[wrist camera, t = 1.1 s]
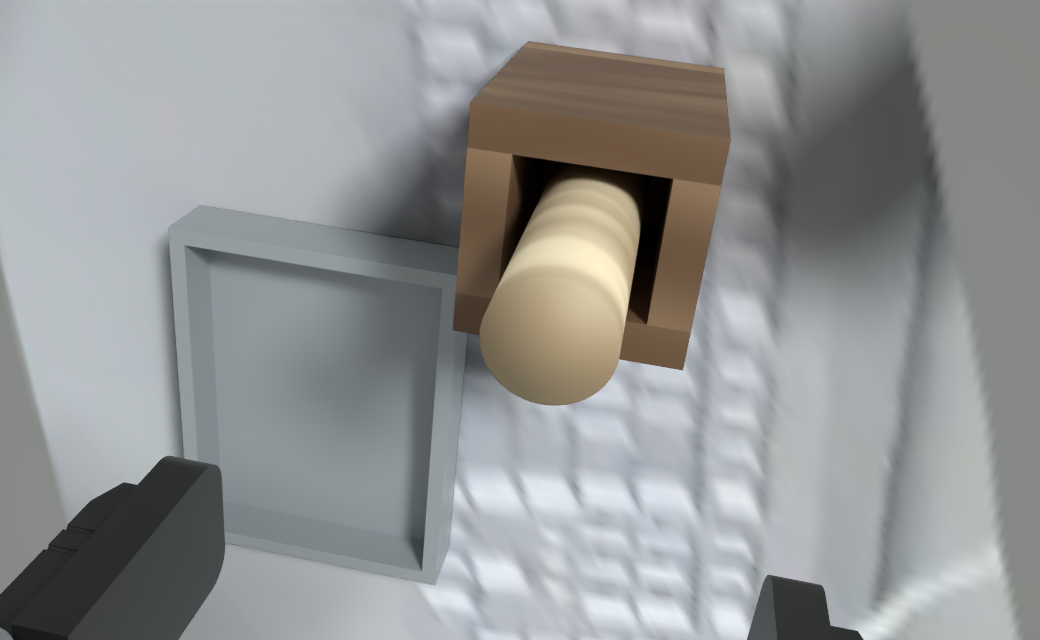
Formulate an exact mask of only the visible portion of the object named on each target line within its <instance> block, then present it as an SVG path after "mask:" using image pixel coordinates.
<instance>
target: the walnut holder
mask: <svg viewBox="0 0 1040 640" xmlns="http://www.w3.org/2000/svg"><path fill="white" fill-rule="evenodd" d="M730 141H731V139H730V128H729V118H728V108H727V97H726V87H725V77H724V68H717V67H710V66H702V65H695V64H688V63H681V62H673V61H666V60H659V59H652V58H644V57H637V56H630V55H623V54H616V53H608V52H601V51H594V50H587V49H579V48H572V47H565V46H558V45H550V44H543V43H536V42H529V41H528V42H527V43H526V44H525V45H524V46H523V47H522V49H521V50H520V51H519V52H518V53H517V54H516V55H515V56H514V57H513V58H512V59H511V60H510V61H509V62H508V63H507V64H506V65H505V66H504V67H503V68H502V69H501V71H500V72H499V73H498V74H497V75H496V76H495V77H494V78H493V79H492V80H491V81H490V82H489V83H488V84H487V85H486V86H485V87H484V88H483V89H482V90H481V92H480V93H479V94H478V95H477V96H476V97H475V98H474V99H473V100H472V101H471V103H470V115H469V128H468V141H467V153H466V166H465V179H464V191H463V204H462V217H461V229H460V242H459V255H458V267H457V280H456V293H455V305H454V318H453V331H459V332H465V333H471V334H476V335H480V327H481V322H482V319H483V316H484V314H485V312H486V310H487V308H488V306H489V304H490V302H491V300H492V298H493V295H494V293H495V291H496V289H497V287H498V285H499V283H500V281H501V279H502V277H503V275H504V273H505V270H506V268H507V266H508V264H509V262H510V260H511V258H512V256H513V254H514V252H515V250H516V247H517V245H518V243H519V241H520V239H521V237H522V235H523V233H524V231H525V229H526V227H527V225H528V222H529V220H530V218H531V216H532V214H533V212H534V210H535V208H536V206H537V204H538V202H539V200H540V197H541V195H542V193H543V191H544V189H545V187H546V185H547V183H548V181H549V179H550V177H551V175H552V172H553V170H554V168H555V166H556V164H557V162H558V161H559V162H566V163H572V164H579V165H585V166H592V167H599V168H605V169H612V170H618V171H625V172H632V173H638V174H645V175H650V178H649V184H648V190H647V196H646V202H645V208H644V214H643V220H642V226H641V232H640V238H639V244H638V250H637V256H636V262H635V268H634V274H633V280H632V286H631V292H630V297H629V303H628V309H627V315H626V321H625V327H624V333H623V339H622V345H621V351H620V357H619V359H621V360H627V361H632V362H638V363H644V364H650V365H655V366H661V367H667V368H673V369H679V370H683V367H684V362H685V357H686V353H687V348H688V343H689V338H690V333H691V329H692V324H693V319H694V314H695V309H696V304H697V300H698V295H699V290H700V285H701V280H702V276H703V271H704V266H705V261H706V256H707V251H708V247H709V242H710V237H711V232H712V227H713V222H714V218H715V213H716V208H717V203H718V198H719V194H720V189H721V184H722V179H723V174H724V169H725V165H726V160H727V155H728V150H729V145H730Z"/></svg>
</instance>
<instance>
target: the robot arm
mask: <svg viewBox="0 0 1040 640" xmlns="http://www.w3.org/2000/svg"><path fill="white" fill-rule="evenodd" d="M224 553H225V533H224V512H223V490H222V475H221V471H220V469H219V467H218V466H217V465H214V464H209V463H204V462H199V461H194V460H189V459H183V458H178V457H173V456H166V457H164V458H162V459H161V460H160V461H159V462H158V463H157V464H156V465H155V466H154V468H153V469H152V470H151V471H150V472H149V473H148V474H147V475H146V476H145V477H144V479H143V480H142V481H141V482H140V483H139V484H138V485H134V484H129V483H122V484H120V485H118V486H117V487H115V488H113V489H111V490H109V491H107V492H106V493H104V494H102V495H100V496H98V497H97V498H95V499H93V500H91V501H90V502H89V503H88V504H87V505H86V506H85V507H84V508H83V509H82V510H81V511H80V512H79V513H78V514H77V515H76V516H75V518H74V519H73V520H72V521H71V522H70V523H69V524H68V526H67V529H66V530H62V531H61V532H60V533H59V534H58V535H57V536H56V538H54V539H53V540H52V541H51V542H50V544H49V547H48V549H47V550H45V549H44V550H43V551H42V552H41V553H40V554H39V555H38V556H37V557H36V558H35V559H34V560H33V561H32V562H31V563H30V564H29V565H28V566H27V567H26V568H25V569H24V571H23V572H22V573H21V574H20V575H19V576H18V577H17V578H16V579H15V580H14V581H13V582H12V583H11V584H10V585H9V586H8V587H7V588H6V589H5V590H4V591H3V592H2V593H1V594H0V640H178V639H179V638H180V636H181V635H182V633H183V632H184V630H185V629H186V627H187V626H188V624H189V623H190V621H191V620H192V618H193V617H194V615H195V614H196V613H197V611H198V610H199V608H200V607H201V605H202V604H203V602H204V601H205V599H206V598H207V596H208V595H209V593H210V592H211V590H212V589H213V587H214V585H215V583H216V581H217V579H218V577H219V574H220V571H221V568H222V564H223V560H224ZM747 640H863V638H862V637H861V635H860V634H859V632H858V631H854V630H849V629H844V628H839V627H834V626H830V621H829V615H828V608H827V602H826V596H825V591H824V588H823V587H822V586H821V585H818V584H813V583H808V582H803V581H798V580H793V579H788V578H782V577H777V576H772V575H767V576H766V578H765V580H764V583H763V586H762V589H761V592H760V596H759V599H758V603H757V606H756V610H755V614H754V617H753V621H752V624H751V628H750V631H749V635H748V638H747Z"/></svg>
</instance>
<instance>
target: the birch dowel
mask: <svg viewBox="0 0 1040 640" xmlns="http://www.w3.org/2000/svg"><path fill="white" fill-rule="evenodd" d="M649 178H650V175H645V174H638V173H632V172H625V171H618V170H612V169H605V168H599V167H592V166H585V165H579V164H572V163H566V162H559V161H558V162H557V164H556V166H555V168H554V170H553V172H552V175H551V177H550V179H549V181H548V183H547V185H546V187H545V189H544V191H543V193H542V195H541V197H540V200H539V202H538V204H537V206H536V208H535V210H534V212H533V214H532V216H531V218H530V220H529V222H528V225H527V227H526V229H525V231H524V233H523V235H522V237H521V239H520V241H519V243H518V245H517V247H516V250H515V252H514V254H513V256H512V258H511V260H510V262H509V264H508V266H507V268H506V270H505V273H504V275H503V277H502V279H501V281H500V283H499V285H498V287H497V289H496V291H495V293H494V295H493V298H492V300H491V302H490V304H489V306H488V308H487V310H486V312H485V314H484V316H483V319H482V322H481V327H480V339H479V340H480V348H481V352H482V356H483V359H484V361H485V363H486V365H487V367H488V369H489V371H490V372H491V373H492V375H493V376H494V377H495V379H496V380H497V381H498V382H499V383H500V384H501V385H502V386H504V387H505V388H506V389H507V390H508V391H510V392H512V393H513V394H515V395H516V396H518V397H520V398H523V399H525V400H528V401H530V402H534V403H538V404H543V405H568V404H572V403H576V402H579V401H582V400H585V399H587V398H588V397H590V396H592V395H594V394H595V393H597V392H598V391H599V390H600V389H601V388H603V387H604V386H605V385H606V383H607V382H608V381H609V380H610V378H611V377H612V375H613V373H614V372H615V369H616V367H617V365H618V361H619V357H620V351H621V345H622V339H623V333H624V327H625V321H626V315H627V309H628V303H629V297H630V292H631V286H632V280H633V274H634V268H635V262H636V256H637V250H638V244H639V238H640V232H641V226H642V220H643V214H644V208H645V202H646V196H647V190H648V184H649Z"/></svg>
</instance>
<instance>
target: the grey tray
mask: <svg viewBox="0 0 1040 640" xmlns="http://www.w3.org/2000/svg"><path fill="white" fill-rule="evenodd" d="M168 235H169V249H170V263H171V277H172V292H173V306H174V320H175V334H176V349H177V363H178V377H179V391H180V406H181V420H182V434H183V448H184V459H189V460H194V461H199V462H204V463H209V464H214V465H217V466H218V467H219V469H220V471H221V475H222V490H223V512H224V533H225V543H229V544H234V545H239V546H244V547H249V548H253V549H258V550H263V551H268V552H273V553H278V554H283V555H288V556H293V557H298V558H303V559H308V560H313V561H317V562H322V563H327V564H332V565H337V566H342V567H347V568H352V569H357V570H362V571H367V572H372V573H376V574H381V575H386V576H391V577H396V578H401V579H406V580H411V581H416V582H421V583H426V584H431V585H435V584H436V581H437V579H438V576H439V573H440V570H441V568H442V565H443V562H444V560H445V557H446V554H447V551H448V549H449V542H450V530H451V519H452V507H453V496H454V484H455V473H456V462H457V450H458V439H459V427H460V416H461V404H462V393H463V381H464V370H465V359H466V347H467V336H468V333H465V332H459V331H453V318H454V305H455V293H456V280H457V267H458V255H459V248H458V247H452V246H445V245H439V244H433V243H427V242H421V241H415V240H409V239H403V238H397V237H390V236H384V235H378V234H372V233H366V232H360V231H354V230H348V229H341V228H335V227H329V226H323V225H317V224H311V223H305V222H299V221H292V220H286V219H280V218H274V217H268V216H262V215H256V214H250V213H244V212H237V211H231V210H225V209H219V208H213V207H207V206H201V205H200V206H198V207H197V208H195V209H194V210H193V211H191V212H190V213H188V214H187V215H185V216H184V217H182V218H181V219H180V220H178V221H177V222H175V223H174V224H172V225H171V226H169V227H168Z"/></svg>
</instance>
